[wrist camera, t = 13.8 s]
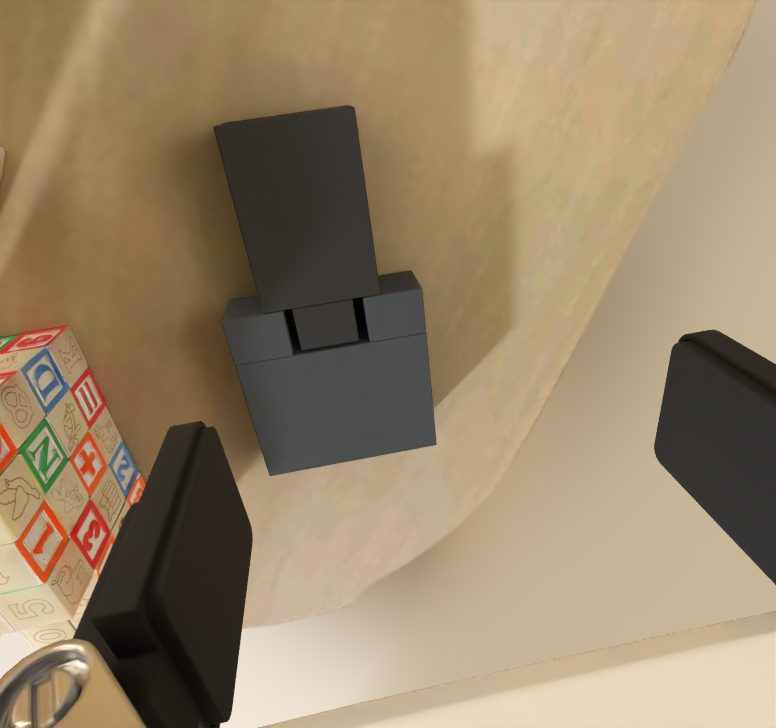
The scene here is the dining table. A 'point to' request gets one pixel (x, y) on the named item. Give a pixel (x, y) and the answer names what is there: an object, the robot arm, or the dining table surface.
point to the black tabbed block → (304, 217)
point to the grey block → (336, 381)
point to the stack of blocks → (55, 485)
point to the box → (1, 161)
